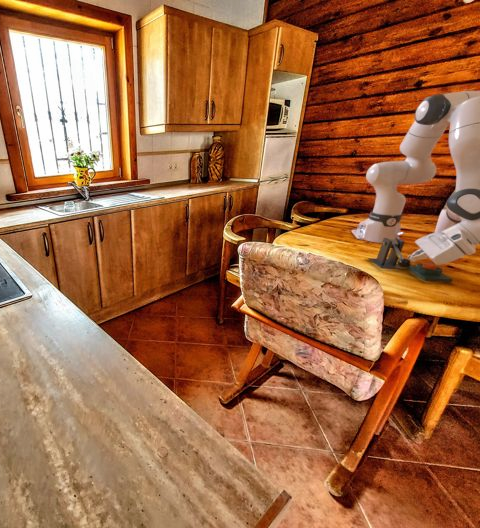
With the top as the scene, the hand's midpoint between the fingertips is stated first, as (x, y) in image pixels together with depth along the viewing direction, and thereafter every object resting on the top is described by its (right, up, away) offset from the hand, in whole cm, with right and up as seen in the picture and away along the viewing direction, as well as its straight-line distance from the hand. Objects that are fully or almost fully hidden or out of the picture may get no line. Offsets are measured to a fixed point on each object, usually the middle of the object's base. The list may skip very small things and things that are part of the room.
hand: (409, 259), depth 106 cm
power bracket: (+2, -3, +12) cm, 12 cm away
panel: (+8, -7, +2) cm, 11 cm away
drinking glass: (+52, +11, +36) cm, 64 cm away
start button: (+8, -3, 0) cm, 9 cm away
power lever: (0, +1, +6) cm, 6 cm away
